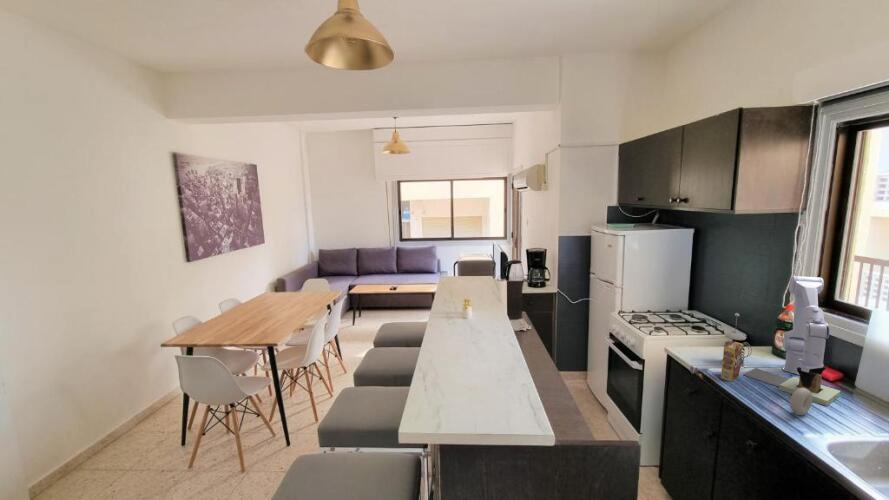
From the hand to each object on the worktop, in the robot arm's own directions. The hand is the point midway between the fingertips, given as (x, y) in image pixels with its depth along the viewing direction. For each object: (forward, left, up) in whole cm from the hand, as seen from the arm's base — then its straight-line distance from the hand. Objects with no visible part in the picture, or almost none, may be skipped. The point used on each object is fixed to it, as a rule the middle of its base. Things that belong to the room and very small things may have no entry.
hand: (809, 384), depth 144 cm
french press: (-4, -27, -4) cm, 28 cm away
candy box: (+12, -22, -4) cm, 25 cm away
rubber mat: (-1, -14, -4) cm, 14 cm away
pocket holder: (0, 0, -4) cm, 4 cm away
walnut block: (0, 0, -4) cm, 4 cm away
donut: (+22, +4, -4) cm, 23 cm away
